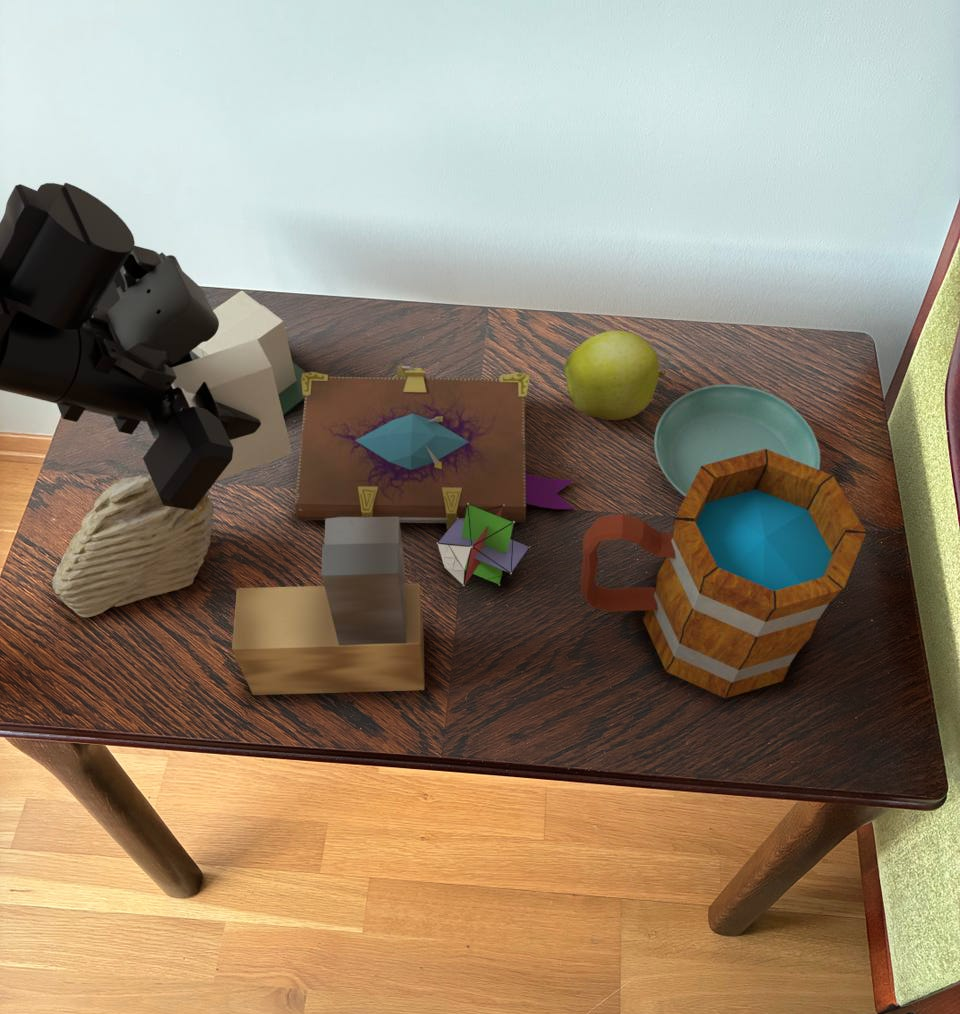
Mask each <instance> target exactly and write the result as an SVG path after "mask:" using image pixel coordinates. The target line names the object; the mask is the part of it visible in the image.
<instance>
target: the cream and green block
mask: <svg viewBox="0 0 960 1014" xmlns="http://www.w3.org/2000/svg"><path fill="white" fill-rule="evenodd" d="M212 310H213V312H214V313H215V314H216V316H217V318H218V321H219V327H218V330H217V332H216V334H215V335H214V336H213V337H212V338H211V339H210V340H208V341H206V342H202V343H201V344H199V345H198V346H197V347H196V348H194V349H193V350H192V352H194V353H195V354H196V355H197V356H199V357H200V358H202V357H205V356H208V355H210V354H213V353H216V352H219V351H222V350H225V349H228V348H231V347H234V346H237V345H240V344H243V343H246V342H249V341H252V340H255V339H258V341H259V343H260V345H261V347H262V349H263V351H264V353H265V355H266V357H267V359H268V360H269V362H270V364H271V366H272V370H273V374H274V379H275V383H276V387H277V391H278V396H279V400H280V404H281V408H282V413H283V417H284V416H285V415H287V414H289V413H290V412H292V410H294V409H295V408H297V406H299V405H300V404H301V403H303V402H305V398H304V397H303V391H302V382H301V378H302V373H307V372H306V371H305V370H303V369H302V368H301V367H300V366H299V365H297V364H296V363H295V362H293V358H292V354H291V350H290V344H289V341H288V336H287V330H286V327H285V323H284V320H283V319H282V318H280V317H279V316H277V315H276V314H275V313H274V312H272V311H271V310H270V309H269V308H267V307H266V306H265V305H263V304H260V303H259V302H258V301H256V299H254V298H253V297H251V296H250V295H248V293H246V292H245V291H244V290H240V291H238V292H237V293H235V294H234V295H233V296H232V297H230V298H229V299H227V300H226V301H224V302H223V303H222V304H220V305H218V306H217V307H215V308H214V309H212Z"/></svg>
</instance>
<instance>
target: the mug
mask: <svg viewBox="0 0 960 1014" xmlns="http://www.w3.org/2000/svg"><path fill="white" fill-rule="evenodd" d="M672 528H673V529H672V533H670V532H664V531H663V532H662V531H659V530H657V529H655V528H654V527H652V526H651V525H650V524H649V523H647V522H646V521H644V520H643V519H640V518H638V517H634V516H631V515H628V514H626V513H617V514H611V515H603V516H599V517H597V518H596V519H595V521H594V522H593V523H592V524H591V525H590V527H589V528H588V529H587V530H586V531H585V533H584V535H583V540H582V565H581V570H580V590H581V595H582V596H583V598H585V600H586V602H587V603H588V605H589V606H590V607H592V608H594V609H597V610H601V611H604V612H609V613H613V612H628V611H631V612H632V611H644V615H643V616H642V618H641V619H642V621H643V623H644V626H645V628H646V630H647V631H648V634H649V637H650V639H651V642H652V644H653V646H654V648H655V650H656V652H657V655H658V657H659V659H660V661H661V663H662V666H663V667H664V670H665V672H666V673H667V674H670V675H672V676H674V677H677V678H679V679H681V680H684V681H685V682H687V683H689V684H693V685H695V686H697V687H698V688H699V687H700V688H701V689H703V690H706V691H708V692H710V693H712V694H714V695H716V696H719V697H720V698H723V699H728V698H732V697H735V696H738V695H741V694H745V693H747V692H748V693H749V692H751V691H754V690H757V689H762V688H763V687H767V686H771V685H774V684H777V683H781V682H784V680H785V679H786V675H787V673H788V671H789V668H790V666H791V663H792V662H793V660H794V659H795V658H796V656H797V654H798V653H799V652H800V650H802V648H804V647H805V645H807V643H808V642H809V641H810V640H811V638H812V636H813V634H814V631H815V629H816V627H817V625H818V623H819V621H820V619H821V617H822V616H823V613H825V610H826V609H827V608H828V606H829V605H830V603H832V601H833V600H834V599H835V598H836V597H838V595H839V594H840V593H842V591H844V589H845V587H846V585H847V582H848V580H849V577H850V574H851V572H852V569H853V567H854V565H855V562H856V560H857V557H858V554H859V552H860V550H861V547H862V545H863V543H864V540H865V538H866V535H867V531H866V529H865V528H864V526H863V524H862V523H861V521H860V519H859V517H858V516H857V514H856V512H855V510H854V509H853V507H852V505H851V504H850V502H849V500H848V498H847V497H846V495H845V493H844V492H843V490H842V488H841V486H840V485H839V483H838V481H837V480H836V478H835V476H834V475H833V474H830V473H827V472H826V471H823V470H820V469H819V470H818V469H815V468H813V467H810V466H808V465H805V464H803V463H800V462H798V461H795V460H793V459H790V458H788V457H785V456H782V455H780V454H777V453H775V452H772V451H770V450H767V449H763V450H760V451H756V452H752V453H748V454H744V455H741V456H737V457H733V458H729V459H726V460H722V461H718V462H714V463H710V464H707V465H703V466H701V467H700V469H699V471H698V473H697V475H696V477H695V479H694V481H693V483H692V485H691V487H690V489H689V491H688V493H687V495H686V497H684V498H683V500H682V503H681V505H680V506H679V508H678V511H677V513H676V514H675V517H674V519H673V527H672ZM618 539H621V540H625V541H629V542H632V543H635V544H637V545H638V546H640V548H642V549H643V550H645V551H646V552H648V553H649V554H651V555H654V556H656V557H661V558H664V559H663V560H662V562H661V565H660V567H659V569H658V570H657V573H656V581H655V587H653V586H651V587H646V586H645V587H619V588H607V587H604V586H600V585H598V584H597V583H596V582H595V581H596V574H597V570H598V565H599V556H598V555H599V554H598V548H599V546H600V544H601V543H602V542H605V541H612V540H618Z"/></svg>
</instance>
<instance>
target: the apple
mask: <svg viewBox="0 0 960 1014" xmlns="http://www.w3.org/2000/svg"><path fill="white" fill-rule="evenodd" d="M563 369H564V377H565V382H566V386H567V391H568V394H569V397H570V398H571V399H570V400H572V402H573V405H574V407H575V408H576V410H578V411H579V412H581V413H582V414H584V415H587V416H589V417H593V418H597V419H601V420H606V421H607V420H608V421H618V420H619V421H621V420H626V419H630V418H633V417H635V416H637V415H639V414H640V413H641V412H643V411H644V410H645V409H646V408H647V407H648V406H649V405H650V404H651V402H652V399H653V397H654V394H655V391H656V388H657V386H658V382H659V378H661V379H662V378H665V377H666V371H665V370H661V371H660V362H659V357H658V355H657V353H656V351H655V349H654V348H653V347H652V346H651V344H650V343H648V342H647V340H645V338H643V337H641V336H640V335H637V334H635V333H632V332H630V331H625V330H607V331H604V332H601V333H598V334H596V335H593V336H591V337H589V338H588V339H585V340H584V341H583V342H582V343H580V344H579V345H578V346H577V347H576V348H575V349H574V350H572V352H571V353H570V354H569V356H568V357H567V359H566V361H565V364H564V368H563Z"/></svg>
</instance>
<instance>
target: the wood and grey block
mask: <svg viewBox="0 0 960 1014" xmlns="http://www.w3.org/2000/svg"><path fill="white" fill-rule="evenodd" d="M321 547H322V548H321V549H322V551H321V580H322V583H323V585H310V586H306V585H305V586H271V587H270V586H269V587H268V586H267V587H266V586H265V587H237V588H236V594H235V607H234V619H233V632H232V644H231V650H232V652H233V655H234V657H235V659H236V661H237V664H238V665H239V668H240V670H241V672H242V674H243V676H244V678H245V680H246V683H247V685H248V687H249V690H250V691H251V694H252V695H253V696H269V695H271V696H272V695H302V694H305V695H307V694H334V693H336V694H338V693H340V694H341V693H368V692H369V693H372V692H406V691H409V692H411V691H425V689H426V688H425V632H424V631H425V630H424V620H423V619H424V618H423V607H422V594H421V584H420V583H407V577H406V568H405V567H406V566H405V559H404V549H403V538H402V530H401V523H400V519H399V517H363V518H326V519H325V520H324V544H322V546H321Z"/></svg>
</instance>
